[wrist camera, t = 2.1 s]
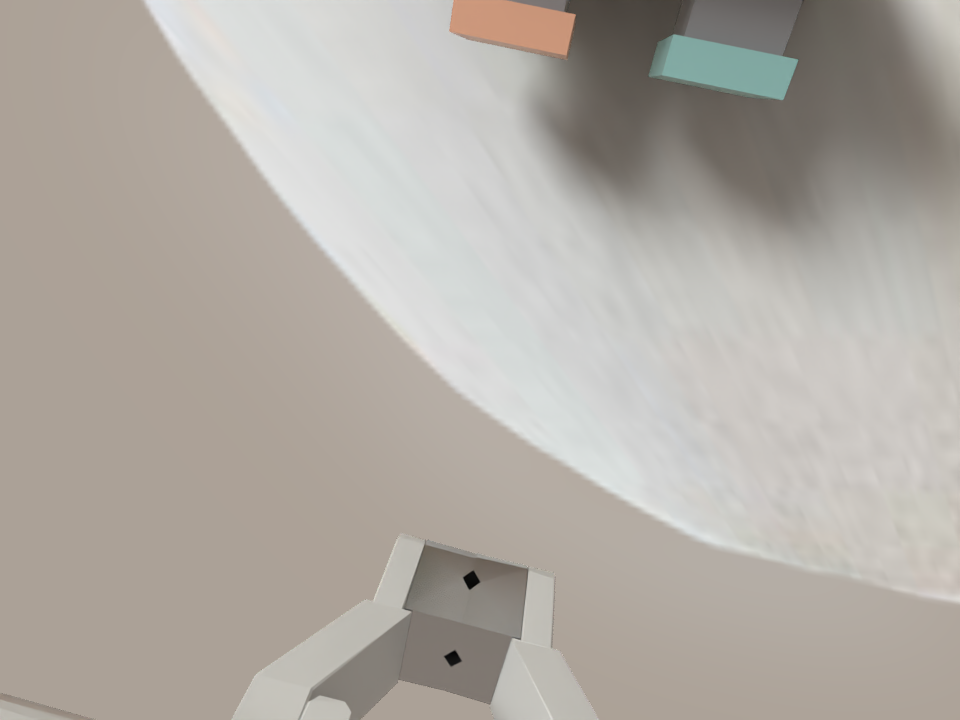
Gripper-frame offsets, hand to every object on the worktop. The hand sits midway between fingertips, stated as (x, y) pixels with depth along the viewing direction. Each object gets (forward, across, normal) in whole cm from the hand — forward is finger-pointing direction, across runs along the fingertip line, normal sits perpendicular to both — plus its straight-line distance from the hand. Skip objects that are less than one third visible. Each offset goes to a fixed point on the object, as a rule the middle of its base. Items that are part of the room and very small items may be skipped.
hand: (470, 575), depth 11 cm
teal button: (+25, -6, -13) cm, 29 cm away
